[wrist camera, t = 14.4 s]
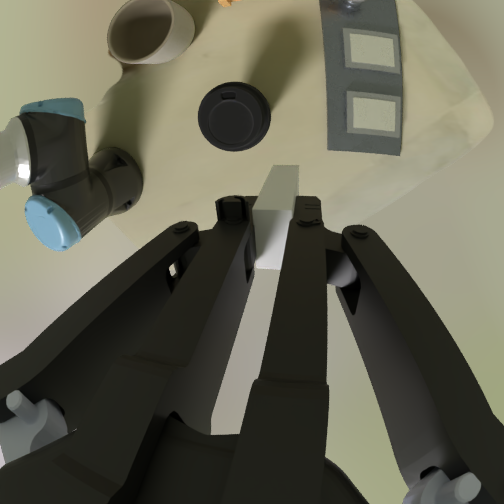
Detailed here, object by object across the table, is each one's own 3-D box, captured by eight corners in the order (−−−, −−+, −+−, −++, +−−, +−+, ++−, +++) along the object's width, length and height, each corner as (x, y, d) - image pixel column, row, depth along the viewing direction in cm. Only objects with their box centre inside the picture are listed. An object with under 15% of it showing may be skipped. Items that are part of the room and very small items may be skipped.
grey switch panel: (327, 149, 44) (329, 154, 40) (317, -10, 28) (318, -20, 24) (398, 154, 42) (406, 161, 38) (392, -2, 26) (400, -9, 22)
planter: (215, 22, 35) (191, 7, 26) (177, 76, 41) (145, 75, 32) (165, -1, 32) (133, -14, 23) (131, 50, 39) (95, 48, 30)
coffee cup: (263, 74, 39) (243, 67, 27) (290, 121, 43) (283, 133, 31) (216, 101, 43) (180, 107, 31) (243, 145, 47) (217, 167, 34)
